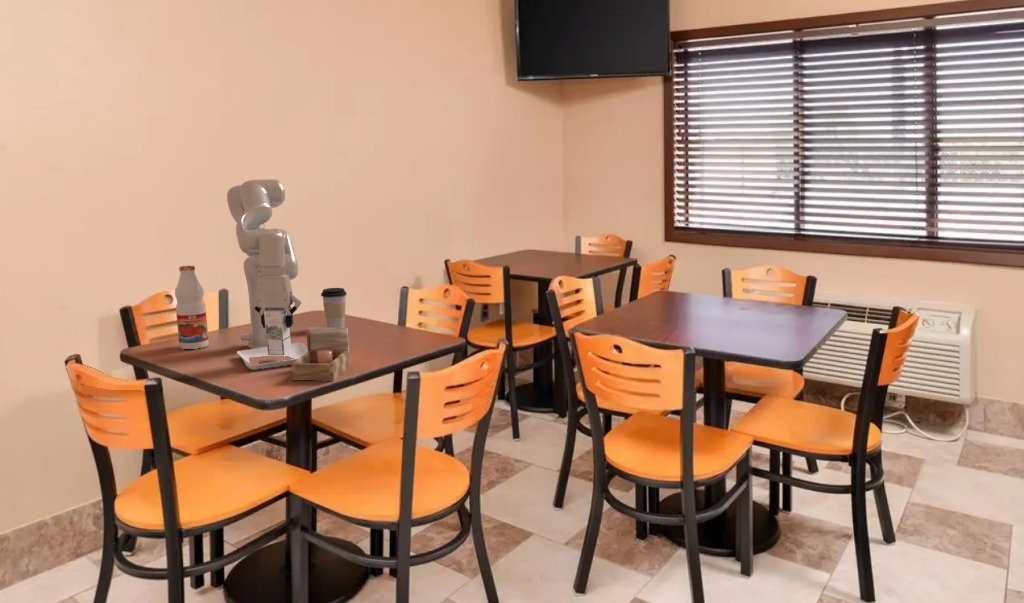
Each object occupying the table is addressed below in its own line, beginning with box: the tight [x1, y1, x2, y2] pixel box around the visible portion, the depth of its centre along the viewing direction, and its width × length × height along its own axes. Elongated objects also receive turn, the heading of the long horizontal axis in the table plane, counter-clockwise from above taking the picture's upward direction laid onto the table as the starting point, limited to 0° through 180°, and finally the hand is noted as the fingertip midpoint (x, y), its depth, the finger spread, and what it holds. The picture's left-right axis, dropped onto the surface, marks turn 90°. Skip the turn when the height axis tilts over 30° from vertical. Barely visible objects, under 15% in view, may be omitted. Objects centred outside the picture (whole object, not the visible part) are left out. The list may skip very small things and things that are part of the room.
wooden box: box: [291, 327, 351, 382], centre depth 231 cm, size 17×12×12 cm
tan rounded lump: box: [317, 349, 333, 364], centre depth 235 cm, size 4×4×6 cm
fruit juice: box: [174, 265, 210, 350], centre depth 264 cm, size 9×9×28 cm
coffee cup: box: [320, 287, 347, 328], centre depth 291 cm, size 9×9×15 cm
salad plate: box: [236, 342, 308, 371], centre depth 248 cm, size 21×21×3 cm
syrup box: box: [264, 308, 292, 355], centre depth 245 cm, size 6×6×14 cm
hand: (277, 326), depth 245 cm, fingers open, 7 cm apart
